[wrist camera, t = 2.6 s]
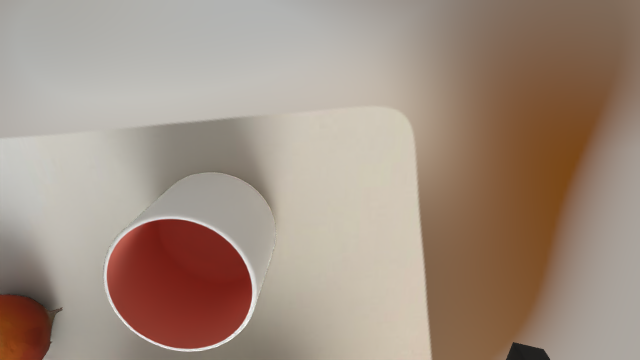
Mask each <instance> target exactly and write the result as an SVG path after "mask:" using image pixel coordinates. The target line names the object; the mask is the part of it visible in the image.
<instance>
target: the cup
mask: <svg viewBox="0 0 640 360" xmlns="http://www.w3.org/2000/svg"><path fill="white" fill-rule="evenodd" d="M275 242H276V225H275V220H274V217H273V214H272V211H271V209H270V207H269V205H268V204H267V202H266V201H265V199H264V198H263V197H262V196H261V194H260V193H259V192H258V191H257V190H256V189H255V188H253V187H252V186H251V185H250V184H248V183H246V182H245V181H243V180H241V179H239V178H237V177H234V176H232V175H228V174H224V173H217V172H205V173H198V174H194V175H191V176H188V177H186V178H183V179H181V180H180V181H178V182H176V183H175V184H174V185H172V186H171V187H170V188H169V189H168V190H167V191H166V192H164V193H163V194H162V195H161V196H160V197H159V198H158V199H157V200H156V201H155V202H153V203H152V204H151V205H150V206H149V207H148V208H147V209H146V210H145V211H143V212H142V213H141V214H140V215H139V216H138V217H137V218H136V219H135V220H134V221H132V222H131V223H130V224H129V225H128V226H127V227H126V228H125V229H124V230H123V231H122V232H121V233H120V234H119V235H118V236H117V237H116V238H115V239H114V241H113V242H112V244H111V246H110V248H109V250H108V252H107V255H106V257H105V262H104V268H103V280H104V287H105V291H106V294H107V297H108V300H109V302H110V304H111V306H112V308H113V310H114V311H115V313H116V314H117V316H118V317H119V318H120V319H121V320H122V321H123V323H124V324H125V325H126V326H127V327H128V328H129V329H131V330H132V331H133V332H134V333H136V334H137V335H138V336H140V337H141V338H143V339H145V340H147V341H148V342H151V343H153V344H155V345H158V346H160V347H163V348H167V349H171V350H177V351H202V350H207V349H211V348H214V347H217V346H220V345H222V344H224V343H226V342H228V341H229V340H231V339H232V338H234V337H235V336H236V335H237V334H239V333H240V332H241V331H242V329H243V328H244V327H245V326H246V325H247V323H248V322H249V320H250V318H251V316H252V314H253V312H254V309H255V306H256V303H257V300H258V297H259V294H260V291H261V288H262V285H263V282H264V279H265V276H266V272H267V269H268V266H269V263H270V260H271V257H272V254H273V251H274V247H275Z"/></svg>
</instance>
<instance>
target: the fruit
mask: <svg viewBox="0 0 640 360" xmlns="http://www.w3.org/2000/svg"><path fill="white" fill-rule="evenodd" d="M61 310H63V309H62V308H60V309H57V310H53V311H49V310H47V309H45V307H44V306H43V305H41V304H39V303H38V302H36V301H35V300H33V299H31V298H28V297H24V296H19V295H11V294H6V295H0V360H42V359H43V358H44V356H45V354H46V353H47V351H48V349H49V347H50V344H51V343H52V342H51V341H50V335H51V328H52V323H53V320H54V317H55V314H56V313H57V312H59V311H61Z"/></svg>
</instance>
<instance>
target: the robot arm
mask: <svg viewBox="0 0 640 360" xmlns="http://www.w3.org/2000/svg"><path fill="white" fill-rule="evenodd" d="M506 360H550V358H549V357H548V355H547V354H546V352H545V351H544V349H540V348H535V347H531V346H527V345H523V344H519V343H514V342H513V344H512V346H511V349H510V351H509V354H508V356H507V359H506Z"/></svg>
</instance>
